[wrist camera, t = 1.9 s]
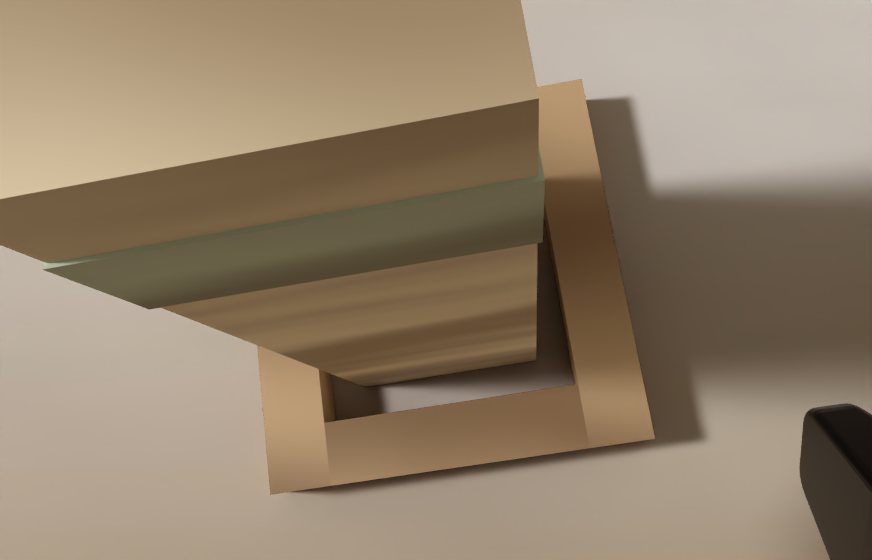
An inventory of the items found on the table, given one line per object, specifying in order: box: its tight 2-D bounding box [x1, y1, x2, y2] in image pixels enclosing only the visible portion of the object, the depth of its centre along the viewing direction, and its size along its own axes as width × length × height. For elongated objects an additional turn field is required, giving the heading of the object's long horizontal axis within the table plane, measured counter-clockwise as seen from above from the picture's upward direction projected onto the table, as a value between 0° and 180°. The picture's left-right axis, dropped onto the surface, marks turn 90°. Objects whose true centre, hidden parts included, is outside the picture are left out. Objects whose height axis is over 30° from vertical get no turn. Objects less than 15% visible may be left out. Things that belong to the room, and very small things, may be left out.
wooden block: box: [0, 0, 545, 387], centre depth 13 cm, size 5×5×15 cm
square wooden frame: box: [257, 79, 655, 495], centre depth 20 cm, size 9×9×1 cm
